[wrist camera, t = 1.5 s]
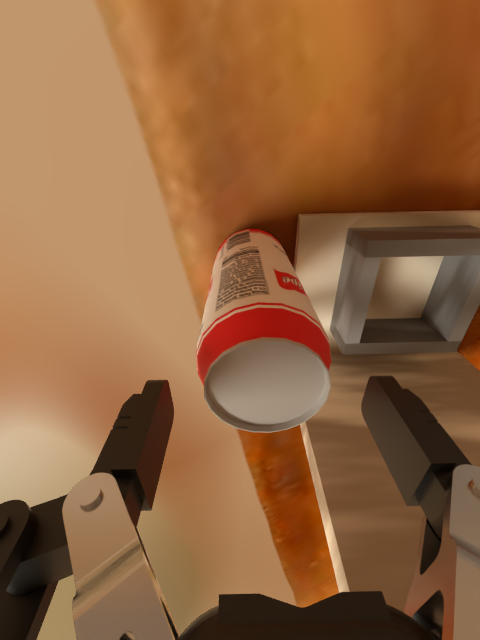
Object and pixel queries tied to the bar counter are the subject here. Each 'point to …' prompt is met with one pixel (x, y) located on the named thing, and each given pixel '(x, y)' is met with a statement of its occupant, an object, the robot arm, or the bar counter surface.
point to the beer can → (261, 339)
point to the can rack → (386, 370)
